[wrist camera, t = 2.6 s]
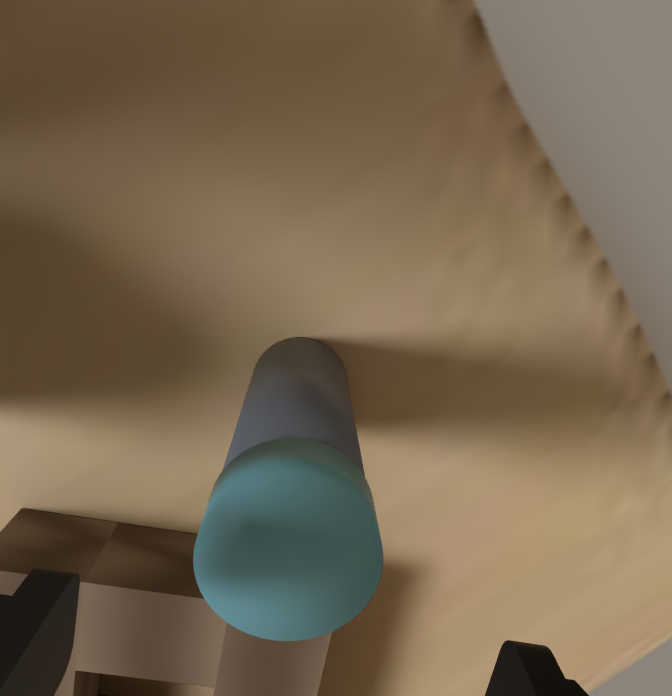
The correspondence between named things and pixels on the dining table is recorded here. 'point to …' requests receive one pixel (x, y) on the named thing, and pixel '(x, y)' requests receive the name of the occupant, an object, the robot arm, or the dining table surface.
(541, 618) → the dining table surface
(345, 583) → the peg
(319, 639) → the socket
